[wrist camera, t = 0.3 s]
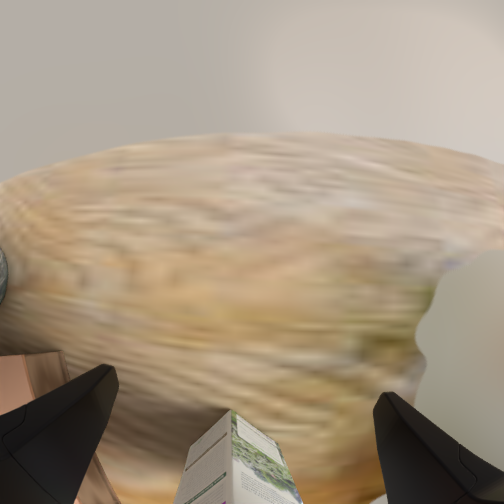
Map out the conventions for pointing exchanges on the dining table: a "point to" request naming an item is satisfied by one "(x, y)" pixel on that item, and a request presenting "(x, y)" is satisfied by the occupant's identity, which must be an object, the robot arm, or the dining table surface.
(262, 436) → the syrup box
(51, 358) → the crate
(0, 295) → the mug
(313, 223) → the dining table surface
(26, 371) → the lid
